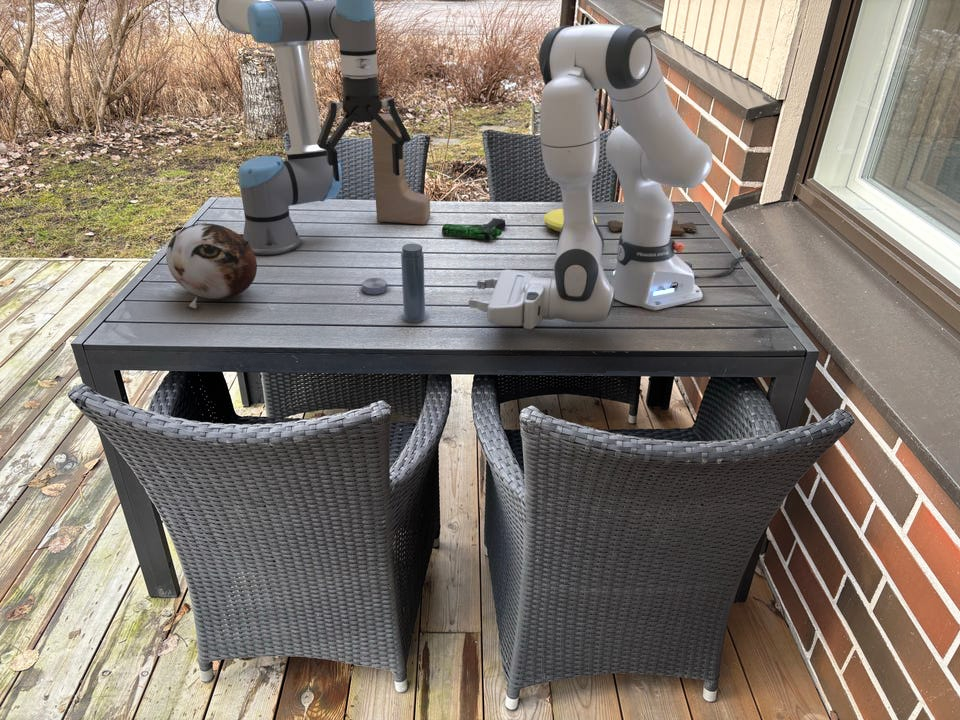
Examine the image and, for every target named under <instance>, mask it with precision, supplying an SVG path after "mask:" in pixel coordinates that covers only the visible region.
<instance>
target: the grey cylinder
mask: <svg viewBox="0 0 960 720" xmlns="http://www.w3.org/2000/svg"><path fill="white" fill-rule="evenodd" d="M400 262H401V265H400V266H401V287H402V306H403V319H404V321H406V322H408V323H420V322H423V321H424V320H425V319H426V287H425V285H426V283H425V253H424V252H423V246H422V245H421V244H419V243H406V244H404V245H402V246H401V253H400Z"/></svg>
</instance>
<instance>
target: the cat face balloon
mask: <svg viewBox="0 0 960 720" xmlns="http://www.w3.org/2000/svg"><path fill="white" fill-rule="evenodd" d="M185 227H186V228H184V229H182V230H178V231H177V232H176V233H175V234H174V235H173V237H171V239H170V241H169V243H168V245H167V248H166V254H165V260H166V265H167V268H168V271H169V273H170V275H171V276H172V277H173V279H174V280H175V281H176V282H177V284H178V285H180V286H181V287H182V288H183V289H185V290H186V291H187V292H189V293H191V294H194V295H195V298H194V299H193V300H192V302H190V303H189V304H188V306H189V307H191V308H192V309H197V308H198V307H197V298H198V297H201V298H205V299H210V300H226V299H230V298H233V297H236V296H238V295H241V294H242V293H244V292H245V291H247V290H248V289H249V288H250V286H251V285H252V284H253V282H254V280H255V278H256V275H257V271H258V262H257V257H256V254H254V252H253V250H252V248H251V247H250V245H249V244H248V242H249V241H246V240H245V239H244V238H243V237H241V236H240V235H241V234H239V233H238V232H236V231H234V230H233V229H231V228H229V227H226V226H223V225H220V224H215V223H205V222H204V223H195V224H191V225H188V226H185Z"/></svg>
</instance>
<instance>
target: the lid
mask: <svg viewBox="0 0 960 720" xmlns="http://www.w3.org/2000/svg"><path fill="white" fill-rule="evenodd" d="M361 284H362V285H361V287H362V291H363V293H365V294H367V295H370V296H371V295H373V296H375V295H376V296H377V295H381V294H384V293H386V292H387V290H388V284H387V281H386V280H385V279H384V278H381V277H371V278H370V277H369V278H367V279H365V280H363V281H362V282H361Z"/></svg>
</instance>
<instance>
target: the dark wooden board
mask: <svg viewBox="0 0 960 720" xmlns="http://www.w3.org/2000/svg"><path fill="white" fill-rule="evenodd" d="M607 224H608V229H609V231H610V232H613V233H615V232H616V233H617V232H622V228H623V221H622V222H621V221H619V220H615V219H614V220H608V221H607ZM682 228H683V229H682ZM688 229H689V230H688ZM693 230H696V231H697V228H696V224H695V223H694V222H691V221H690V222H683V223H682V222H681V223H679V221H678V220H674V219H673V222H672V229H671V235H685V233H686V232H687V233H696V231H693Z"/></svg>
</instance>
